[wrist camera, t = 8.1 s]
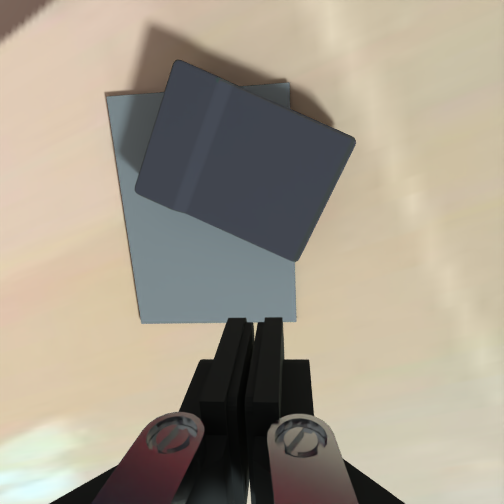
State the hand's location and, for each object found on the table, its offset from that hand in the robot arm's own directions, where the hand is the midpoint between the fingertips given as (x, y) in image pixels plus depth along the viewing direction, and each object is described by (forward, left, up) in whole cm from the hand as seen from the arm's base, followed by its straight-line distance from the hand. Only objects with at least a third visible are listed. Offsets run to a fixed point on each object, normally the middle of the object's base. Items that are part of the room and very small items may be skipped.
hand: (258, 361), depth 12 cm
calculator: (-4, -1, -22) cm, 22 cm away
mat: (+7, 0, -25) cm, 26 cm away
